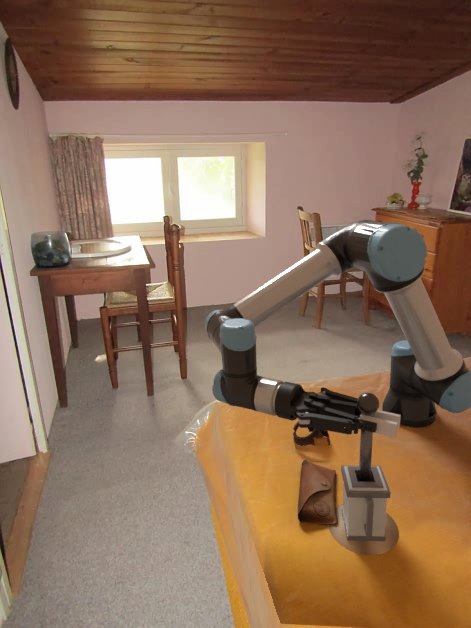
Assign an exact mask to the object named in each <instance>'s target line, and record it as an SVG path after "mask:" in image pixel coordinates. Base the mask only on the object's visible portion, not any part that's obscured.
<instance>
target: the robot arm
mask: <svg viewBox="0 0 471 628" xmlns="http://www.w3.org/2000/svg"><path fill="white" fill-rule="evenodd" d="M426 257H428V247H427V243H426V241H425V239H424V236H422V234H421V233H420V232H419V231H417V230H416V229H415V228H413V227H411V226H408V225H405V224H403V223H398V222H384V221H376V220H371V219H362V220H358V221H353V222H351V223H349V224H347V225H345V226H343V227H341V228H340V229H338V230H336V231H335V232H333V233H332V234H330V235H328V236H326V237H325V238H324V239H323V240H321V241H319V242H318V243H317V244H316V246H315V250H313V251H312V252H310V253H308V254H307V255H305V256H304V257H303V258H301V259H299V260H298V261H297V262H295V263H293V264H292V265H291V266H289V267H288V268H286V269H285V270H283V271H281V272H280V273H278V274H277V275H275V276H274V277H273V278H271V279H270V280H268V281H267V282H265V283H264V284H262V285H260V286H259V287H258V288H256V289H255V290H253V291H252V292H250V293H249V294H248V295H245V296H244V297H243V298H241V299H240V300H239V301H237V302H235V303H234V304H232V305H231V306H229V307H227V308H226V309H215V310H213V311H211V312H210V313H209V314H208V315H207V316H206V319H205V323H204V327H205V331H206V333H207V336H208V338H209V339H210V340H211V341H212V342H213V343H214V346H215V347H216V348H217V349H218V351H219V352H220V354H221V355H220V356H221V364H222V369H220V370H218V372H217V373H216V374H215V375H214V377H213V383H212V387H211V388H212V389H211V390H212V395H213V397H214V398H215V400H217V401H218V402H221V403H224V404H227V405H228V406H230V407H231V406H232V407H238V408H243V409H245V410H246V409H248V410H251V411H254V412H258V413H263V414H266V415H271V416H274V417H276V416H277V418H281V419H285V420H288V421H292V422H293V421H296V420H297V419H298V421H299V427H298V428H301V429H303V428H305V429H308V428H316V429H321V430H327V431H328V432H333V433H338V434H345V435H352V434H354V435H358V433H359V430H360V431H361V430H365V431H369V432H373V434H374V433H375V434H378V435H383V436H387V437H391V438H397V434H398V430H400V429H401V426H402V427H406V428H415V429H416V428H417V429H418V428H425V427H429V426H431V425H433V424H435V422H436V420H437V416H438V415H437V414H438V413H437V411H438V410H437V408H436V405H437V406H439V407H440V409H442V410H446V411H448V412H449V413H452V414H459V413H460V414H461V413H463V412H466V411H467V410H469V409H470V408H471V370H470V369H469V368H468V367H467V365H466V362H465V359H464V358H463V357H464V356H462V354H461V353H460V352H459V351H458V350H456V349H454V348H452V346H451V345H450V342H449V340H448V338H447V335H446V333H445V331H444V328H443V326H442V323H441V321H440V319H439V316H438V314H437V312H436V309H435V308H434V305H433V302H432V301H431V299H430V296H429V294H428V291H427V289H426V287H425V285H424V283H423V280H422V277H423V275H424V273H425V272H426V271H425V270H426V269H425V265H426V262H427V261H426ZM353 269H357V270H360V271H363V272H365V273H366V275H367V277H368V279H369V280H370V282H371V284H372V287H373V289H374V290H375V291H376V292H378V293H382V294H384V296H385V297H386V299H387V301H388V302H387V303H388V305H389V307H390V308H391V310H392V312H393V314H394V316H395V318H396V320H397V323H398V324H399V327H400V328H401V329H400V330H401V331H402V332H403V333H402V334H403V335H404V337H405V340H404V339H403V340H399V341H397V342H395V343H394V344H393V346H392V348H391V354H390V371H389V372H390V375H389V389H388V391H387V393H386V396H385V397H384V400H383V402H382V405H381V407H382V408H381V410H380V409H378V410H377V411H376V412H375V413H374V417H371V416H366V415H362V414H361V411H360V410H359V409H358V407H357V399H358V397H354V396H350V395H347V394H343V393H339V392H337V391H333V390H330V389H328V388H326V387H324V386H323V387H321V388H320V391H319V392H315V391H306V390H305V389H304V388H303V386H302V385H301V384H299V383H294V382H290V381H283V380H282V379H276V378H271V377H266V376H262V375H259V374H258V368H257V367H258V364H257V335H256V327H257V326H259V325H260V324H261V323H264V322H265V321H267V319H269V318H270V317H272V316H273V315H275V314H276V313H278V312H279V311H281V310H282V309H284V308H285V307H288V305H290V304H292V303H293V302H294V301H296V300H297V299H299V298H300V297H302V296H303V295H304V294H306V293H308V292H309V291H310V290H312V289H314V288H315V287H317V286H318V285H320V284H321V283H323V282H325V281H326V280H327V279H329V278H330V277H332V276H337V277H339V276H341V275H343V274H344V273H346V272H347V271H350V270H353ZM310 420H311V421H310Z"/></svg>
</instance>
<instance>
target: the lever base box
mask: <svg viewBox="0 0 471 628" xmlns="http://www.w3.org/2000/svg"><path fill="white" fill-rule="evenodd" d="M340 467H341V468H340V472H341V476H342V482H343V488H342V489H343V491H342V492H343V493H342V504H343V509H342V517H343V522H344V527H345V532H346V537H347V540H352V541H386V537H385V520H386V513H387V500H388V499H391V496H392V495H391V491H390V487H389V485H388V484H389V483H388V482H387V479H386V476H385V472H384V470H383V468H382V466H381V465H371V480H370V482H359V465H354V464H353V465H349V464H348V465H346V464H345V465H340Z"/></svg>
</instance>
